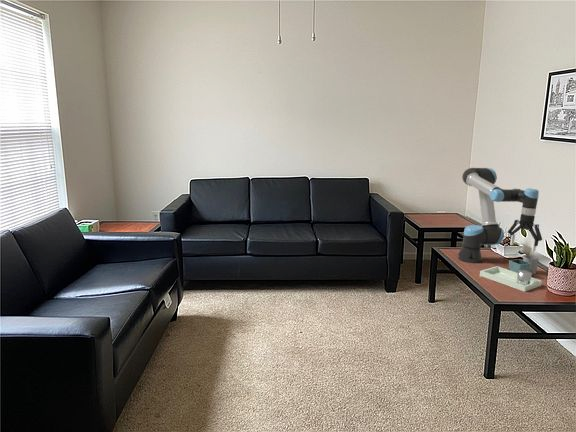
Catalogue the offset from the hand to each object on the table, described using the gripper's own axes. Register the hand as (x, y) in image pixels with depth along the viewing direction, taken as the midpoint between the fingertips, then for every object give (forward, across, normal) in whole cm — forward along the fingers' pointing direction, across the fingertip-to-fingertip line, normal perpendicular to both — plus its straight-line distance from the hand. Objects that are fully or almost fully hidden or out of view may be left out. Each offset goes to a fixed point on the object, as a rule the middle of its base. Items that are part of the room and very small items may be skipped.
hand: (522, 248), depth 271 cm
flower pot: (+18, 0, 0) cm, 18 cm away
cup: (+18, 0, +13) cm, 22 cm away
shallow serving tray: (+18, +4, -16) cm, 24 cm away
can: (+17, +12, -16) cm, 26 cm away
